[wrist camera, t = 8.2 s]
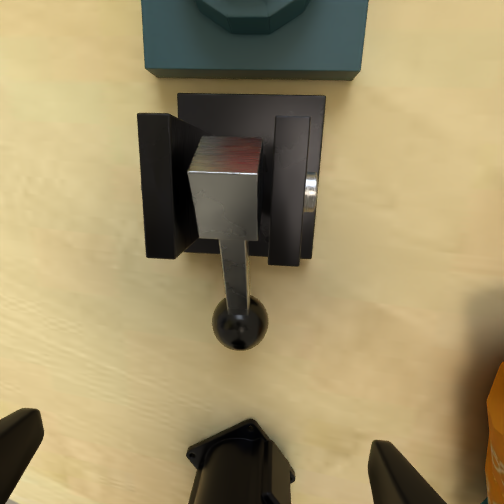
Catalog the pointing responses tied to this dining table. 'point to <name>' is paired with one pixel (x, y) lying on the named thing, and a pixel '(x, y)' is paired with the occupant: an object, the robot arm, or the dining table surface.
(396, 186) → the dining table surface
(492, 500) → the device
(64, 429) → the dining table surface
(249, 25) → the button housing
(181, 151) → the lever bracket
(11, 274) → the dining table surface
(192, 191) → the lever handle
